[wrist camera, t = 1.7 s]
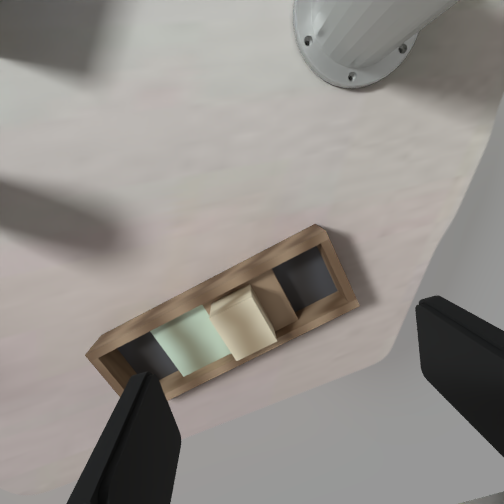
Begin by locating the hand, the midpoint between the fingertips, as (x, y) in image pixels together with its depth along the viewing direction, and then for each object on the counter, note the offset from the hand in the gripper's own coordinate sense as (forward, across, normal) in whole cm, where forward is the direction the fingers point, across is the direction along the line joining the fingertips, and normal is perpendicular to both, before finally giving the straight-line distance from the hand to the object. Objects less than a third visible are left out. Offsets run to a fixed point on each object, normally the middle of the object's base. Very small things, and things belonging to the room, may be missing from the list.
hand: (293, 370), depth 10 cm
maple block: (+22, +3, +8) cm, 23 cm away
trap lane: (+24, +5, +9) cm, 26 cm away
